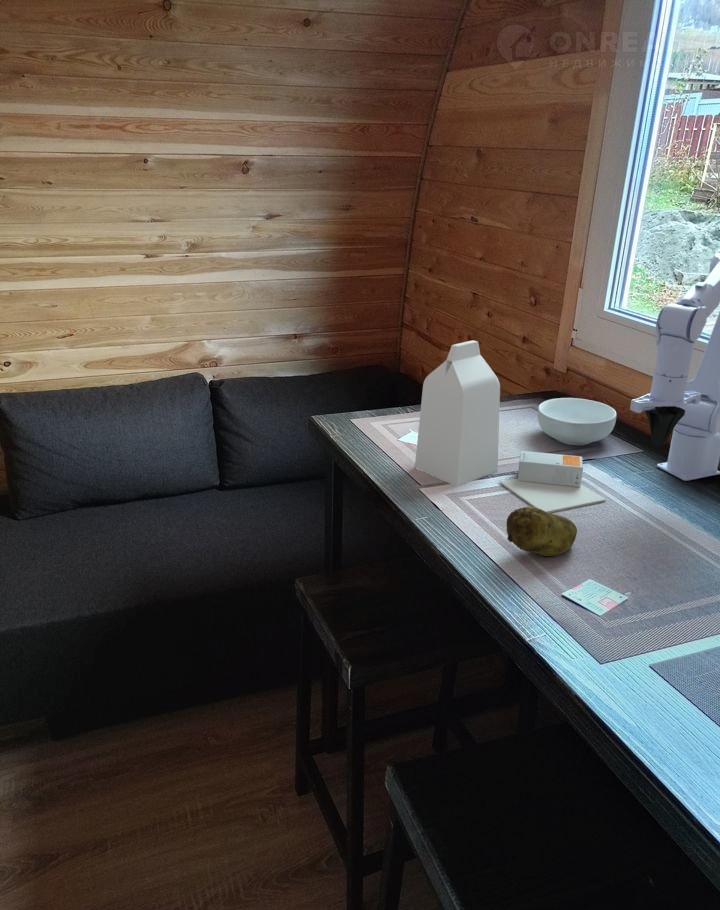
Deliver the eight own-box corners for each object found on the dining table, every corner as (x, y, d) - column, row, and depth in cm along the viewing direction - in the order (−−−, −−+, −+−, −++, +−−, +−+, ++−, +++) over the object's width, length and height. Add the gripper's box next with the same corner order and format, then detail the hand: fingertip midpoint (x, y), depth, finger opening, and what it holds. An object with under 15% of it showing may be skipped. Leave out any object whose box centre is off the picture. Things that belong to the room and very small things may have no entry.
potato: (588, 562, 123) (595, 517, 120) (511, 567, 121) (515, 521, 118) (568, 537, 130) (574, 494, 127) (494, 541, 129) (499, 498, 126)
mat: (558, 472, 155) (559, 470, 155) (605, 501, 143) (605, 499, 143) (499, 483, 150) (499, 481, 150) (543, 514, 138) (543, 512, 138)
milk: (457, 486, 148) (466, 355, 138) (414, 467, 156) (421, 342, 146) (497, 470, 155) (509, 344, 145) (454, 453, 163) (463, 332, 153)
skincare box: (583, 467, 146) (519, 461, 148) (581, 487, 148) (517, 481, 150) (582, 455, 151) (520, 450, 154) (579, 475, 153) (518, 469, 155)
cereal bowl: (553, 420, 183) (556, 392, 180) (622, 436, 174) (627, 407, 172) (522, 441, 170) (525, 411, 168) (595, 459, 162) (600, 428, 159)
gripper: (655, 383, 131) (643, 457, 136) (719, 375, 136) (704, 446, 141) (627, 372, 137) (615, 443, 142) (688, 364, 142) (675, 433, 147)
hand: (658, 444), depth 142 cm, fingers closed
